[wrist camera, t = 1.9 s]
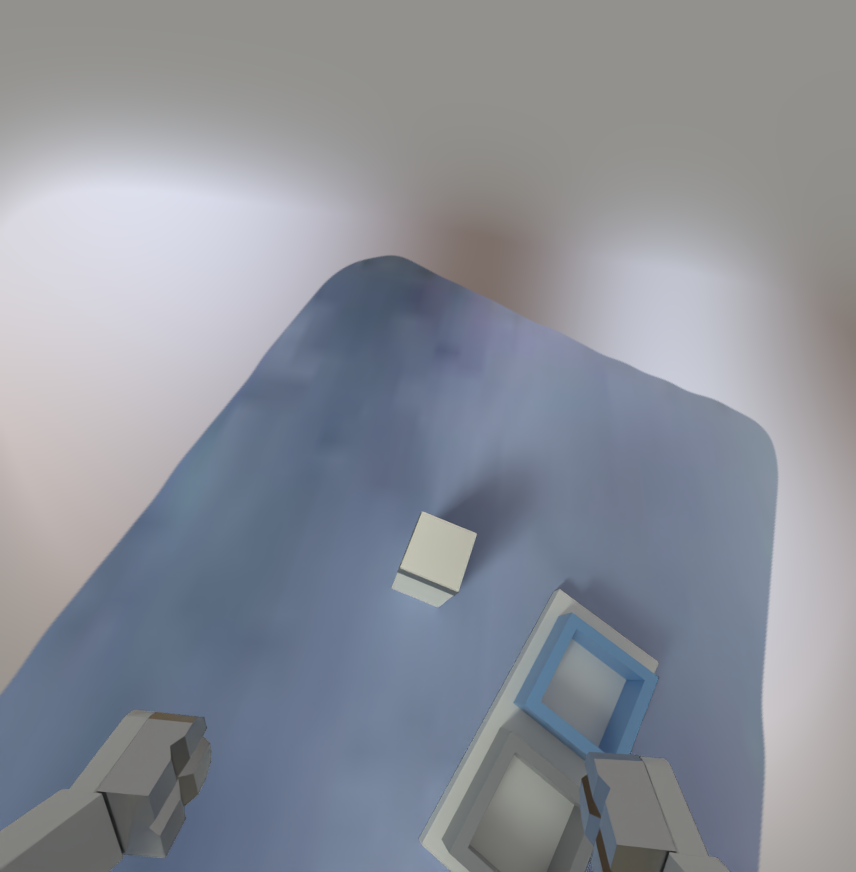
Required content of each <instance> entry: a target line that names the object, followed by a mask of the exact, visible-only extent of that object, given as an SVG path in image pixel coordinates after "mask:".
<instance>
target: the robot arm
mask: <svg viewBox="0 0 856 872" xmlns="http://www.w3.org/2000/svg"><path fill="white" fill-rule="evenodd" d="M206 729H207V726H206V722H205V718H204V717H198V716H189V715H180V714H170V713H161V712H154V711H143V710H133V711H132V712H130V713H129V714H128V715H126V716H125V717H124V718H123V720H122V721H121V722H120V724H119V725H118V726H117V728H116V729H115V730H114V731H113V733H112V734H111V735H110V737H109V738H108V739H107V741H106V742H105V743H104V744H103V746H102V747H101V748H100V750H99V751H98V752H97V754H96V755H95V756H94V758H93V759H92V760H91V761H90V763H89V764H88V765H87V767H86V768H85V769H84V771H83V772H82V773H81V774H80V776H79V777H78V778H77V780H76V781H75V782H74V784H73V785H72V786H71V787H70V789H61V790H60V791H58V792H57V793H55V794H54V795H52V796H51V797H49V798H48V799H47V800H45V801H44V802H42V803H41V804H39V805H38V806H36V807H35V808H33V809H32V810H30V811H29V812H27V813H26V814H24V815H23V816H22V817H20V818H19V819H17V820H16V821H14V822H13V823H11V824H10V825H8V826H7V827H5V828H4V829H2V830H1V831H0V872H109V871H110V870H111V869H112V868H113V867H114V866H115V865H116V864H117V863H119V862H120V861H121V860H122V859H123V855H133V856H146V857H159V858H166V856H167V855H168V853H169V851H170V849H171V847H172V845H173V843H174V841H175V839H176V837H177V835H178V833H179V831H180V829H181V827H182V825H183V823H184V821H185V820H186V816H185V805H186V804H188V803H189V802H190V801H191V800H192V799H194V798H195V797H196V796H197V795H198V794H199V792H200V790H201V788H202V786H203V784H204V782H205V780H206V777H207V773H208V770H209V767H210V763H211V746H210V742H209V741H208V740H207V739H206V738H204V737H203V735H204V733H205V731H206ZM585 767H586V772H587V775H585V776H584V777H583V778H581V784H580V811H581V819H582V824H583V829H584V834H585V836H586V837H587V838H588V839H589V841H590V842H591V843H592V845H593V846H594V849H593V854H592V858H591V867H592V871H593V872H730V870H729V869H728V868H727V867H726V866H725V865H724V864H723V863H722V862H721V861H720V860H719V859H718V858H717V857H711V856H709V855H708V853H707V850H706V848H705V846H704V843H703V841H702V839H701V836H700V834H699V831H698V829H697V827H696V824H695V822H694V820H693V817H692V815H691V813H690V810H689V808H688V805H687V803H686V801H685V798H684V796H683V794H682V791H681V789H680V787H679V784H678V782H677V779H676V777H675V775H674V772H673V770H672V768H671V765H670V764H669V763H668V761H667V760H666V759H664V758H656V757H641V756H637V755H628V754H614V753H601V752H589V753H588V754H587V755H586V759H585Z"/></svg>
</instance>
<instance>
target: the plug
mask: <svg viewBox="0 0 856 872" xmlns="http://www.w3.org/2000/svg"><path fill="white" fill-rule="evenodd" d="M476 536H477V533H474V532H472V531H470V530H467V529H465V528H462V527H460V526H457V525H455V524H452V523H450V522H447V521H445V520H442V519H440V518H438V517H435V516H433V515H430V514H428V513H425V512H423V511H422V512H421V514H420V516H419V519H418V521H417V524H416V526H415V529H414V531H413V534H412V536H411V539H410V541H409V544H408V546H407V549H406V551H405V554H404V557H403V559H402V562H401V564H400V567H399V569H398V572H397V575H396V578H395V580H394V583H393V585H392V589H394V590H397V591H399V592H402V593H404V594H406V595H409V596H411V597H414V598H416V599H418V600H421V601H423V602H426V603H428V604H430V605H433V606H435V607H440V606H441V605H442V604H443V603H445V602H446V601H447V600H448V599H450V598H451V597H452V596H455V595H456V594H457V593H458V591H459V589H460V586H461V582H462V579H463V576H464V573H465V570H466V567H467V564H468V561H469V557H470V554H471V551H472V548H473V545H474V542H475V539H476Z"/></svg>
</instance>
